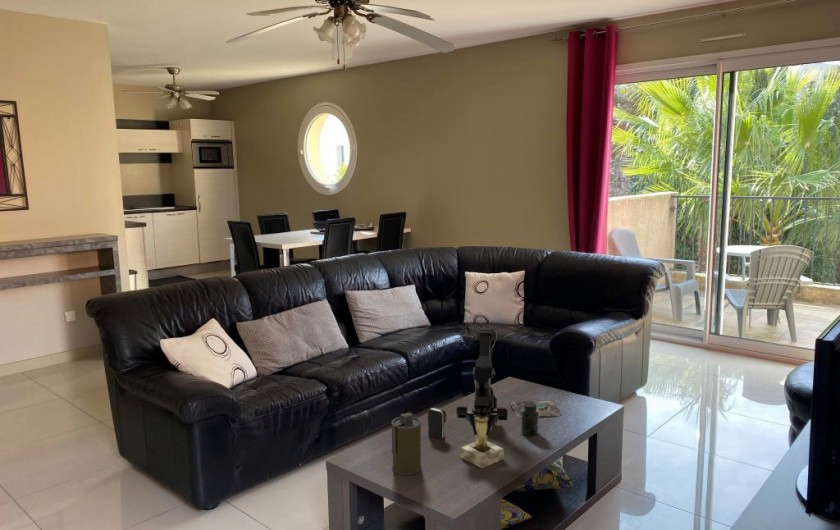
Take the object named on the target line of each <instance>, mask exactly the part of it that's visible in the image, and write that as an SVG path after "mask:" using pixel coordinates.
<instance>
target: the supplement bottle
mask: <svg viewBox="0 0 840 530" xmlns="http://www.w3.org/2000/svg"><path fill="white" fill-rule="evenodd" d="M536 407H537V406H536V404H534V403H525V404H524V410H523V411H522V416H521V418H520V419H521V420H520V421H521V424H520V426H521V427H520V433H521V434H522V435H523V436H526V437H535V436H537V435H539V421H540V419H539V418H540V417H539V413H538V412H537V411H536V410H537V408H536Z"/></svg>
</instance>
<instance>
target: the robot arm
mask: <svg viewBox="0 0 840 530" xmlns="http://www.w3.org/2000/svg"><path fill="white" fill-rule="evenodd" d="M475 334H476V337H475V338H476V339H475V340H476V341H477V342H478V345H479V354H478V355H479V356H478V359H477V360H476V361H475V365H474V367H473V369H472V378H474V388H475V389H474V403H473V409H470V408H468V405H458V406H457V407H456V418H457V419H466V421H468V422H469V423H470V426H471V429H472V432H473V435H474V436H475V434H476V431H475V429H476V421H475V419H474V417H475V415H478V414H484V415H487V416H489V420H488V432H487V436H488V437H489V436H490V433H491V431H492V428H493V426H494V425H495V423H497V422H498V421H508V414H509V413H508V411H509V410H508V408H507V407H501V406H500V407H498V399H497V397H496V395H495V392H494V391H495V390H494V388H493V387H492V385H491V380H492V379H494V378H495V376H496V371H495V368H494V367H493V366H492V365H493V362H492V349H493V347H494V346H495V343H496V341H497V337H498V331H495V329H494V328H483V327H481V328H479V330H476V333H475Z"/></svg>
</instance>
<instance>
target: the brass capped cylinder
mask: <svg viewBox="0 0 840 530" xmlns="http://www.w3.org/2000/svg"><path fill="white" fill-rule="evenodd" d="M488 420H489V416H487V415H484V414H478V415H474V421H475V431H476V434H475V435H474V436H475V441H474V442H475V449H476V450H478V451H480V452H482V453H483V452H486V451H487V441H488V438H489V436H487V432H488V425H489V424H488ZM488 442H489V441H488Z"/></svg>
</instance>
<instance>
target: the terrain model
mask: <svg viewBox="0 0 840 530" xmlns="http://www.w3.org/2000/svg"><path fill="white" fill-rule="evenodd" d="M525 403H534V404H536V406H537V407H536V408H537V410H536V411H537V412H538V413H539V418H559V417H561V416H562V413H561V412H560V410H559V408H558V406H557V404H556V402H555V401H554V400H542V401H541V400H537V401H533V400H519V401H513V402H510V403H509V406H511V407H510V409H511V411H512V412H514V413H513V414H514V416H515V417H516V416H518V417H520V418H519V419H521V416H522V411H523V410H524V404H525ZM560 415H561V416H560ZM518 417H517V418H518Z"/></svg>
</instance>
